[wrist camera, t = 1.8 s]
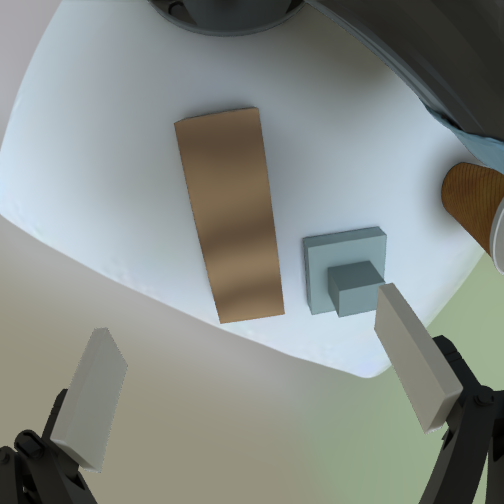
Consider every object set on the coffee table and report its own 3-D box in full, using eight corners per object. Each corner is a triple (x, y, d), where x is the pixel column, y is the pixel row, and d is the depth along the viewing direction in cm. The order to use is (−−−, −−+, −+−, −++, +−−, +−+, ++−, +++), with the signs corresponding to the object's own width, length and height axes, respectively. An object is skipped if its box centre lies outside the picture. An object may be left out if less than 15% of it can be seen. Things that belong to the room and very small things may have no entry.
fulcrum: (303, 238, 31) (318, 269, 25) (378, 226, 31) (405, 254, 25) (308, 303, 34) (320, 340, 29) (375, 290, 34) (395, 323, 29)
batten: (184, 118, 25) (174, 123, 21) (253, 106, 25) (258, 108, 21) (221, 293, 34) (220, 323, 29) (277, 284, 33) (284, 314, 29)
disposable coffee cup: (441, 242, 32) (503, 301, 21) (418, 171, 28) (496, 216, 17) (494, 204, 30) (560, 248, 19) (478, 134, 26) (558, 164, 16)
